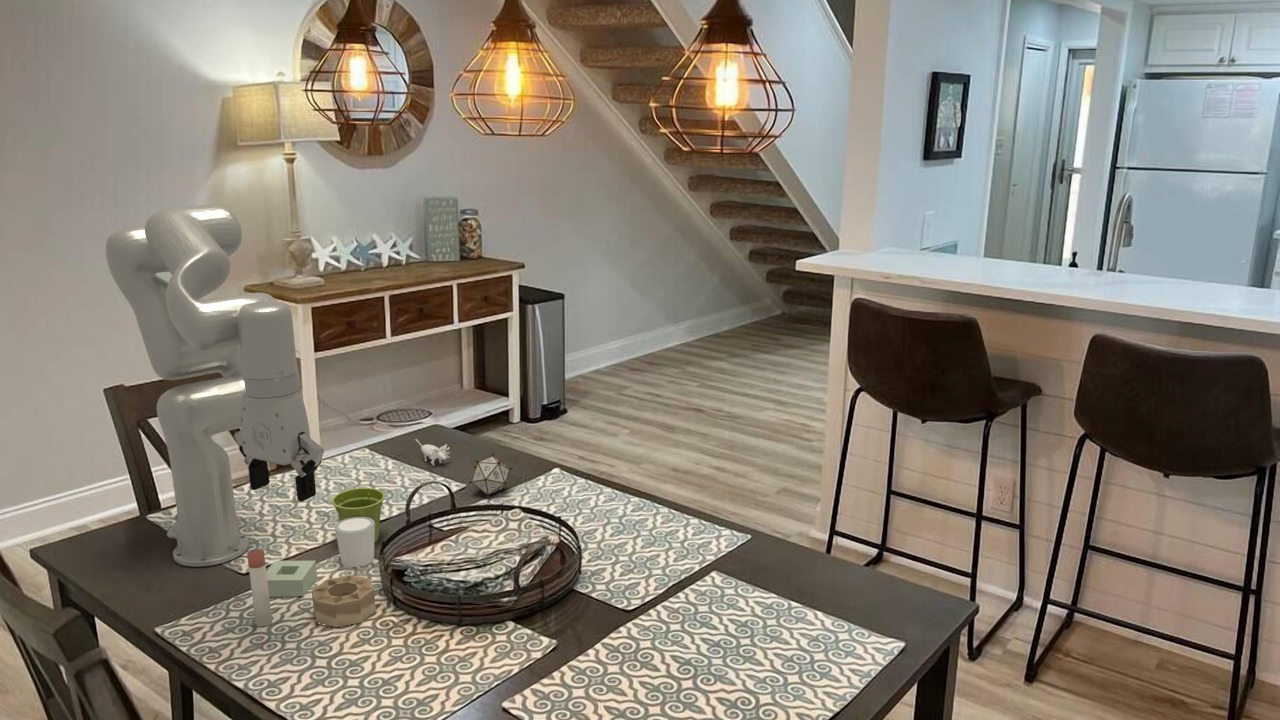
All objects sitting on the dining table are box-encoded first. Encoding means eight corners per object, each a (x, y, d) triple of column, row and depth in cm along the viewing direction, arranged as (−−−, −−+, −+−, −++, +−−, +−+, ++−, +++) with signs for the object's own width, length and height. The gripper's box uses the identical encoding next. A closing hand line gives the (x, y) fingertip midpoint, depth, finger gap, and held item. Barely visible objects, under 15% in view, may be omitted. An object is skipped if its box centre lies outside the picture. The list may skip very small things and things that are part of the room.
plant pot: (396, 531, 183) (393, 489, 181) (374, 554, 174) (371, 509, 172) (350, 528, 184) (346, 486, 182) (326, 550, 175) (322, 506, 173)
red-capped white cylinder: (252, 625, 150) (243, 555, 147) (262, 617, 152) (254, 548, 149) (264, 627, 149) (256, 557, 146) (275, 620, 152) (267, 550, 148)
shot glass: (366, 570, 168) (363, 534, 166) (330, 567, 169) (326, 530, 167) (384, 553, 174) (381, 517, 172) (349, 550, 175) (346, 514, 174)
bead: (303, 620, 151) (300, 598, 150) (338, 594, 160) (336, 572, 159) (351, 631, 148) (349, 607, 147) (385, 603, 157) (383, 581, 156)
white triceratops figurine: (454, 465, 216) (453, 445, 215) (434, 471, 213) (432, 451, 212) (426, 451, 225) (425, 432, 224) (406, 457, 221) (404, 437, 220)
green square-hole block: (261, 596, 159) (259, 580, 158) (276, 576, 166) (274, 560, 165) (303, 596, 159) (301, 580, 158) (317, 576, 166) (315, 560, 165)
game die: (490, 506, 204) (495, 460, 207) (517, 501, 198) (522, 454, 202) (457, 496, 197) (463, 449, 201) (484, 491, 192) (490, 443, 196)
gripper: (210, 384, 143) (223, 491, 148) (295, 399, 136) (306, 512, 140) (250, 372, 150) (262, 475, 154) (334, 386, 142) (343, 493, 147)
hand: (283, 492), depth 147 cm, fingers open, 9 cm apart
